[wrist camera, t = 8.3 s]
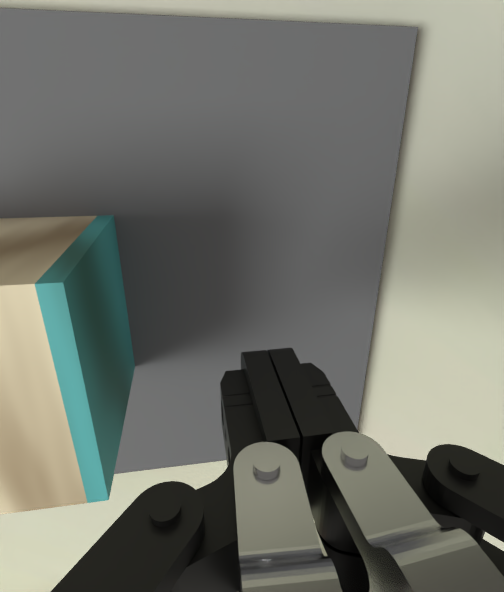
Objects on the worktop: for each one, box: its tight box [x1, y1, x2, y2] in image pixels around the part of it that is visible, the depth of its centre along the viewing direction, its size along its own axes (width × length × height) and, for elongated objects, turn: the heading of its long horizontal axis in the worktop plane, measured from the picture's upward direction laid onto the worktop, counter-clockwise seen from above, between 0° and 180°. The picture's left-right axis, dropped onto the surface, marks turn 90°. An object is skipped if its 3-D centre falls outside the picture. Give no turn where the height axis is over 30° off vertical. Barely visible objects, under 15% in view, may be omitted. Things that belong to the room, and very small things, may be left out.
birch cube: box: [0, 215, 135, 514], centre depth 13 cm, size 7×7×7 cm
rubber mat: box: [0, 8, 418, 474], centre depth 16 cm, size 27×20×1 cm
